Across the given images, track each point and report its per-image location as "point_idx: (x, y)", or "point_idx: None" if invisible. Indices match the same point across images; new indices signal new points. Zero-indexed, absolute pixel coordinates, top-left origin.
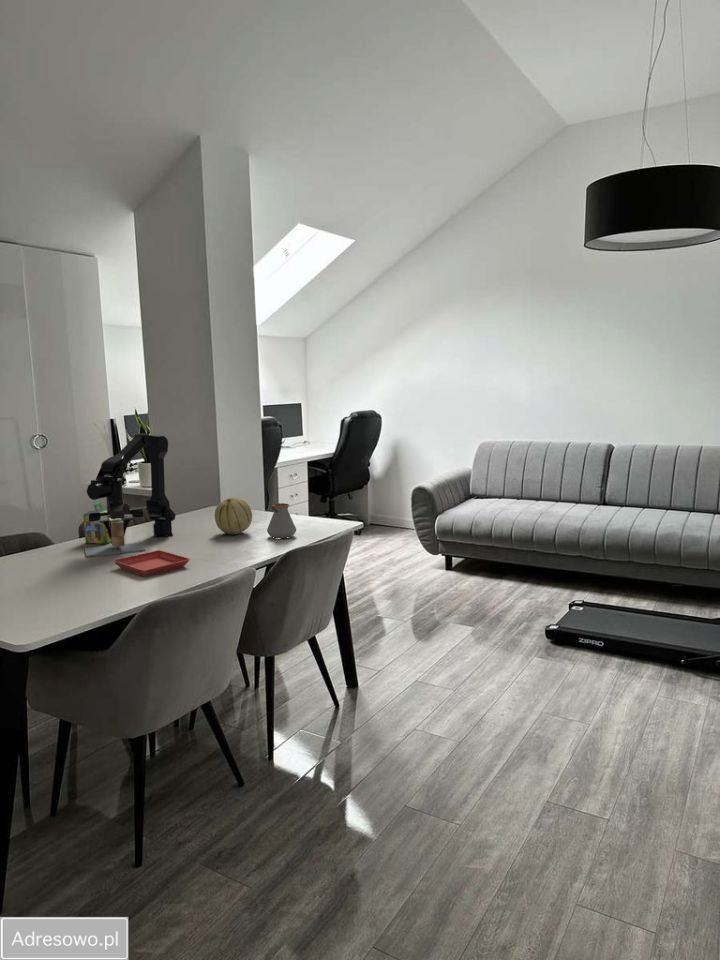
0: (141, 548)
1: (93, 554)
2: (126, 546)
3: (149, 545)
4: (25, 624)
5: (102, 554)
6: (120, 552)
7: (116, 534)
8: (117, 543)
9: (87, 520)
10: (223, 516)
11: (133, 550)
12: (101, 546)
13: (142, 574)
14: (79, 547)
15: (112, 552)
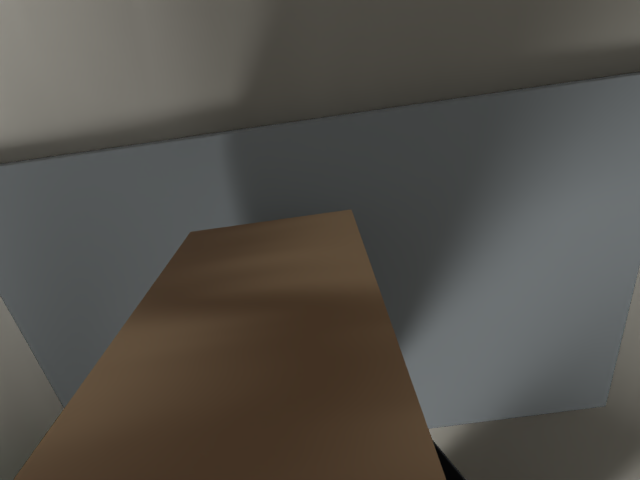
0: (8, 239)
1: (591, 105)
2: None
3: (2, 394)
4: None
5: (477, 98)
6: (251, 128)
7: (280, 336)
8: (282, 237)
9: None
10: None
11: (87, 165)
12: (453, 419)
13: None
14: (610, 462)
15: (352, 140)
